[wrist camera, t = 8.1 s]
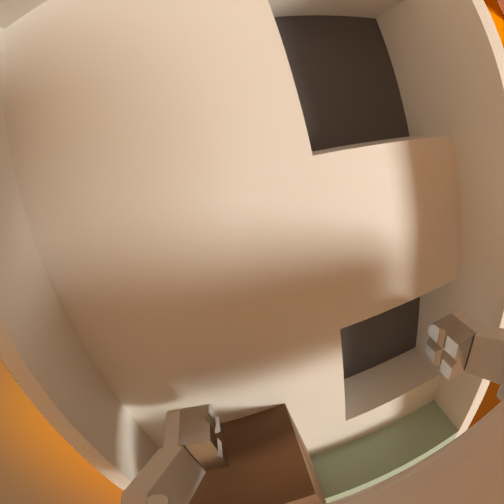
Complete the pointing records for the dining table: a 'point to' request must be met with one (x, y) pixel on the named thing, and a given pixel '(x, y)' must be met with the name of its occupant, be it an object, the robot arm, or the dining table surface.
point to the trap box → (249, 219)
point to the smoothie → (501, 5)
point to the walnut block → (262, 464)
